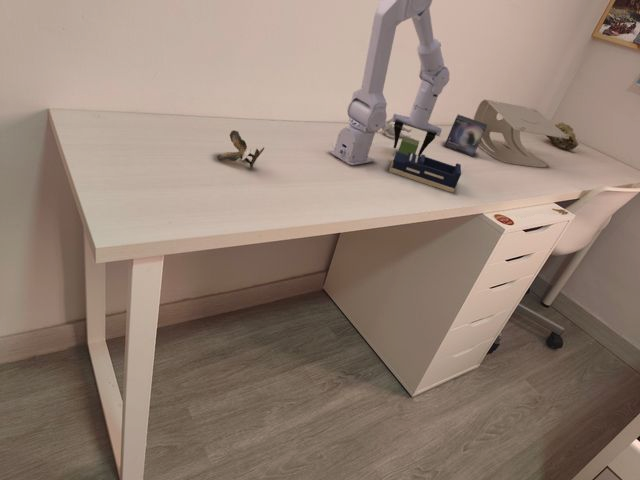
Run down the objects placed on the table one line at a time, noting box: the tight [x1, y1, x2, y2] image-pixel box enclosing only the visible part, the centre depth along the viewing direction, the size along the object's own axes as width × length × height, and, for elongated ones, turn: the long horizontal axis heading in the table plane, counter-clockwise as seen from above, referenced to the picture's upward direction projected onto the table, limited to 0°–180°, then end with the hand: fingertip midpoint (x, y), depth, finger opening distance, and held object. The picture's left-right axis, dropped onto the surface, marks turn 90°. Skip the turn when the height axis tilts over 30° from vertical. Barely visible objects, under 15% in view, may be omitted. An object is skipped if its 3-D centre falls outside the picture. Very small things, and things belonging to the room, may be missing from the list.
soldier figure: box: [381, 118, 413, 139], centre depth 150 cm, size 8×5×12 cm
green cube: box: [397, 136, 420, 155], centre depth 134 cm, size 5×5×5 cm
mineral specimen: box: [545, 121, 580, 150], centre depth 197 cm, size 14×13×10 cm
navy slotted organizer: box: [388, 151, 462, 194], centre depth 123 cm, size 18×8×6 cm, turn 75°
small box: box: [443, 114, 487, 158], centre depth 153 cm, size 11×6×10 cm, turn 68°
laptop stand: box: [472, 99, 570, 168], centre depth 164 cm, size 26×24×16 cm
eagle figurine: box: [216, 129, 265, 170], centre depth 101 cm, size 8×7×9 cm
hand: (407, 151), depth 135 cm, fingers open, 7 cm apart
